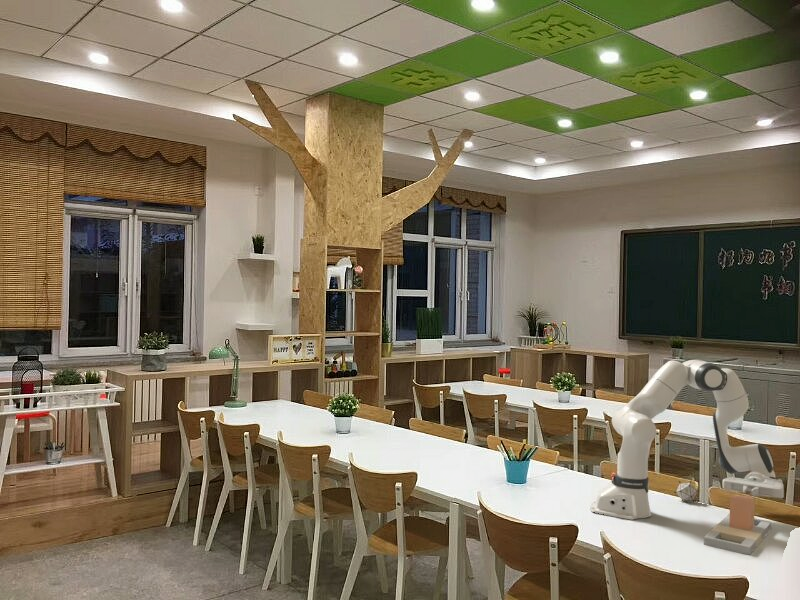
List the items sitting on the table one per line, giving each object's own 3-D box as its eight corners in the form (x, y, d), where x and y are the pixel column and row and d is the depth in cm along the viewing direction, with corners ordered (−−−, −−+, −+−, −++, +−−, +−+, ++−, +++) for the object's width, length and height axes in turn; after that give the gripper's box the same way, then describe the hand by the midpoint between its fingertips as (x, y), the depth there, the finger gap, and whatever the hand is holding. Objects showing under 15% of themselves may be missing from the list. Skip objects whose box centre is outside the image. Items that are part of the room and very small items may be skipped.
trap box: (729, 520, 253) (729, 513, 253) (771, 528, 244) (771, 521, 244) (703, 544, 226) (703, 537, 226) (749, 555, 218) (749, 547, 218)
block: (734, 522, 243) (734, 494, 243) (754, 526, 239) (754, 497, 239) (729, 526, 238) (729, 498, 238) (749, 530, 234) (750, 501, 234)
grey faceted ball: (687, 509, 278) (696, 487, 281) (696, 507, 270) (706, 485, 273) (667, 497, 280) (677, 476, 283) (676, 495, 272) (685, 473, 275)
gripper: (727, 471, 262) (717, 478, 251) (787, 480, 249) (779, 488, 238) (727, 487, 262) (717, 495, 251) (787, 497, 249) (779, 506, 238)
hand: (748, 492), depth 245 cm, fingers closed
